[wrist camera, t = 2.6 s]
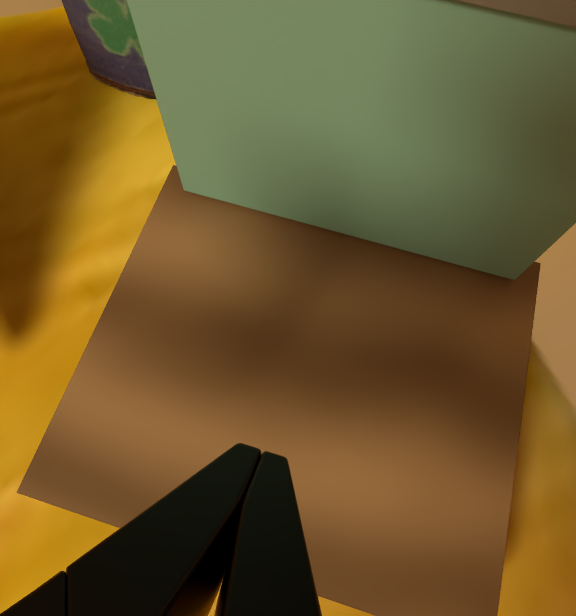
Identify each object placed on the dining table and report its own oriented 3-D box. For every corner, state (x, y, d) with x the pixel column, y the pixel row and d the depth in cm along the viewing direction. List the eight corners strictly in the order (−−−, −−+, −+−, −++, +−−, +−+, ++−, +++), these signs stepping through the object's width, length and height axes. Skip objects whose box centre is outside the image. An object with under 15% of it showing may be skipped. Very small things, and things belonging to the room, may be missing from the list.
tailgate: (518, 288, 19) (817, 22, 9) (176, 194, 21) (68, -138, 10) (523, 249, 20) (808, -43, 9) (192, 161, 21) (105, -184, 11)
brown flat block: (449, 624, 19) (492, 655, 15) (64, 494, 20) (16, 492, 16) (499, 300, 24) (540, 263, 20) (188, 215, 25) (173, 165, 21)
